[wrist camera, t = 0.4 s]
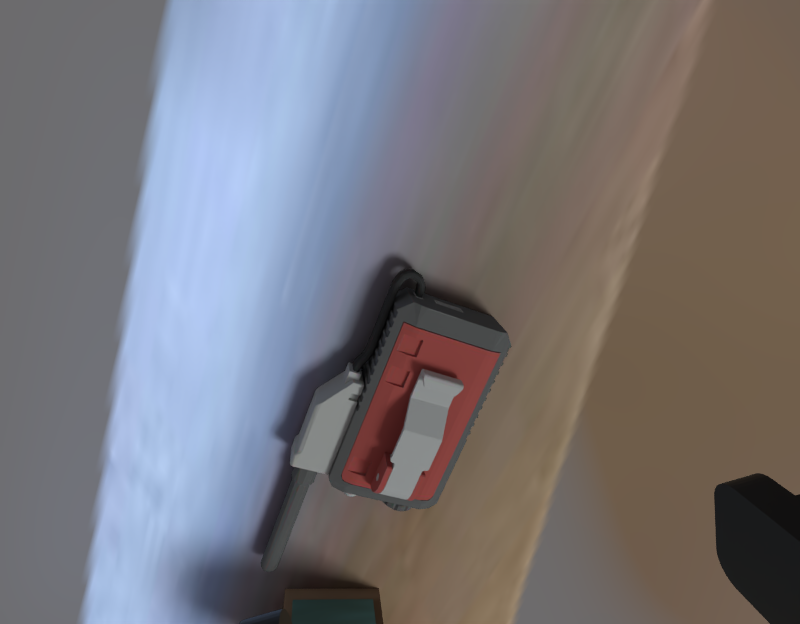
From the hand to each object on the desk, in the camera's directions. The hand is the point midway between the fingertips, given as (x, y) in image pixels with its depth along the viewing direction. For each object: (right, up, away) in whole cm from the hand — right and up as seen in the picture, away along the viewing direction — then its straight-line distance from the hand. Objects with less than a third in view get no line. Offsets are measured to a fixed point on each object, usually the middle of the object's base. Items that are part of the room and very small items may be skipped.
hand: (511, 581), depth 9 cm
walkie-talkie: (-4, -2, +21) cm, 22 cm away
